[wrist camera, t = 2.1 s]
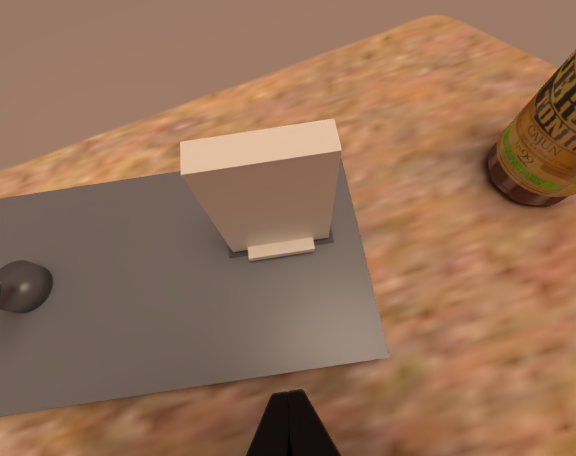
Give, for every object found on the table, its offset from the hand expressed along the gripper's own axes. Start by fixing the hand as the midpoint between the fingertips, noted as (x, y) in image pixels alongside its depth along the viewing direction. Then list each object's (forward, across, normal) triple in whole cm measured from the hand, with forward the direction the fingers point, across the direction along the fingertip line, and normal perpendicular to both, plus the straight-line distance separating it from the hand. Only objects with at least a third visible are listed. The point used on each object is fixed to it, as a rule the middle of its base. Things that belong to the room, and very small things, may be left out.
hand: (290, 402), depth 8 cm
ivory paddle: (+13, 0, +1) cm, 13 cm away
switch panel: (+14, +8, +4) cm, 17 cm away
